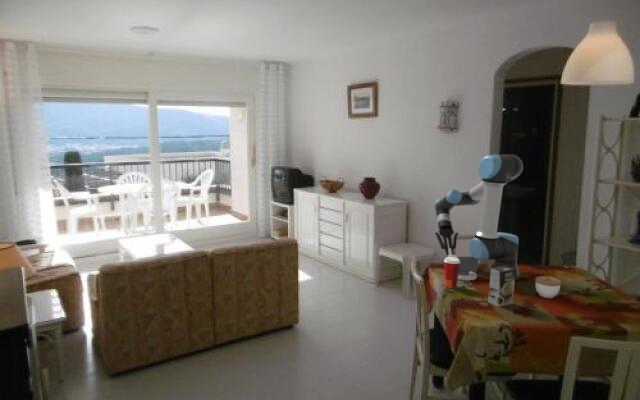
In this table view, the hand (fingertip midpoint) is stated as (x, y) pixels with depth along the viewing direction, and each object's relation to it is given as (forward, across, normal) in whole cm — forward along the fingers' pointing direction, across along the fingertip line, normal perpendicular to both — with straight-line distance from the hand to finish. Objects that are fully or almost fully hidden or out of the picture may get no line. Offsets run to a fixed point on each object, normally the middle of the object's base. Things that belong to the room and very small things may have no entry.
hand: (450, 259), depth 243 cm
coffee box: (+35, -11, +25) cm, 45 cm away
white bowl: (+28, -36, +18) cm, 49 cm away
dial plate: (+9, -5, -1) cm, 11 cm away
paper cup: (+21, +6, +10) cm, 24 cm away
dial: (+8, -5, +1) cm, 10 cm away
